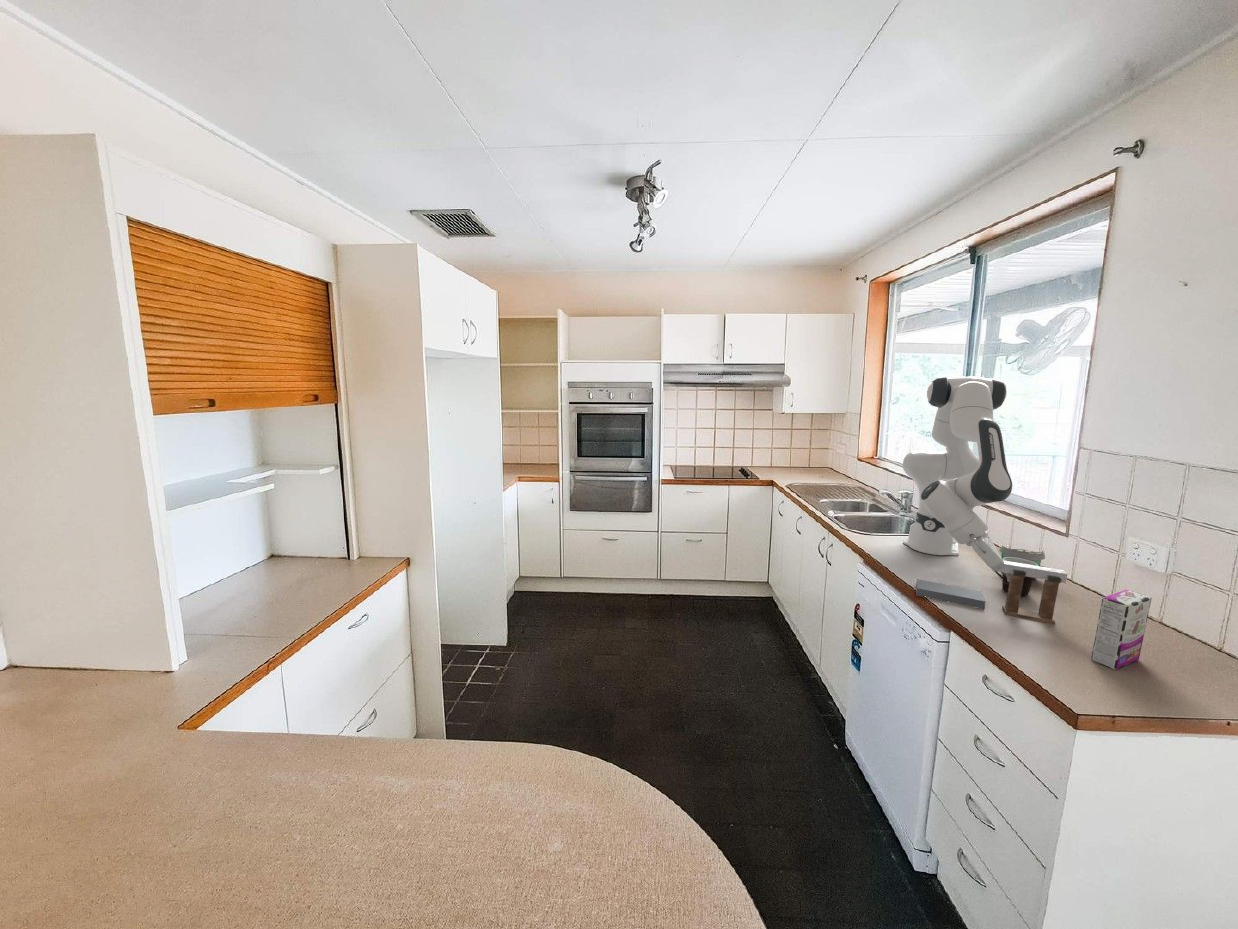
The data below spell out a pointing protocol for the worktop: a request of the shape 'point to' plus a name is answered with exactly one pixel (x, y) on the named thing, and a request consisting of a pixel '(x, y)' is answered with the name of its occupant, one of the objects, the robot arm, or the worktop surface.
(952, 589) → the board
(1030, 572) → the rail
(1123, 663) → the candy bar box
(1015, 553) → the food container
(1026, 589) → the coffee mug
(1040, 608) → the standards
